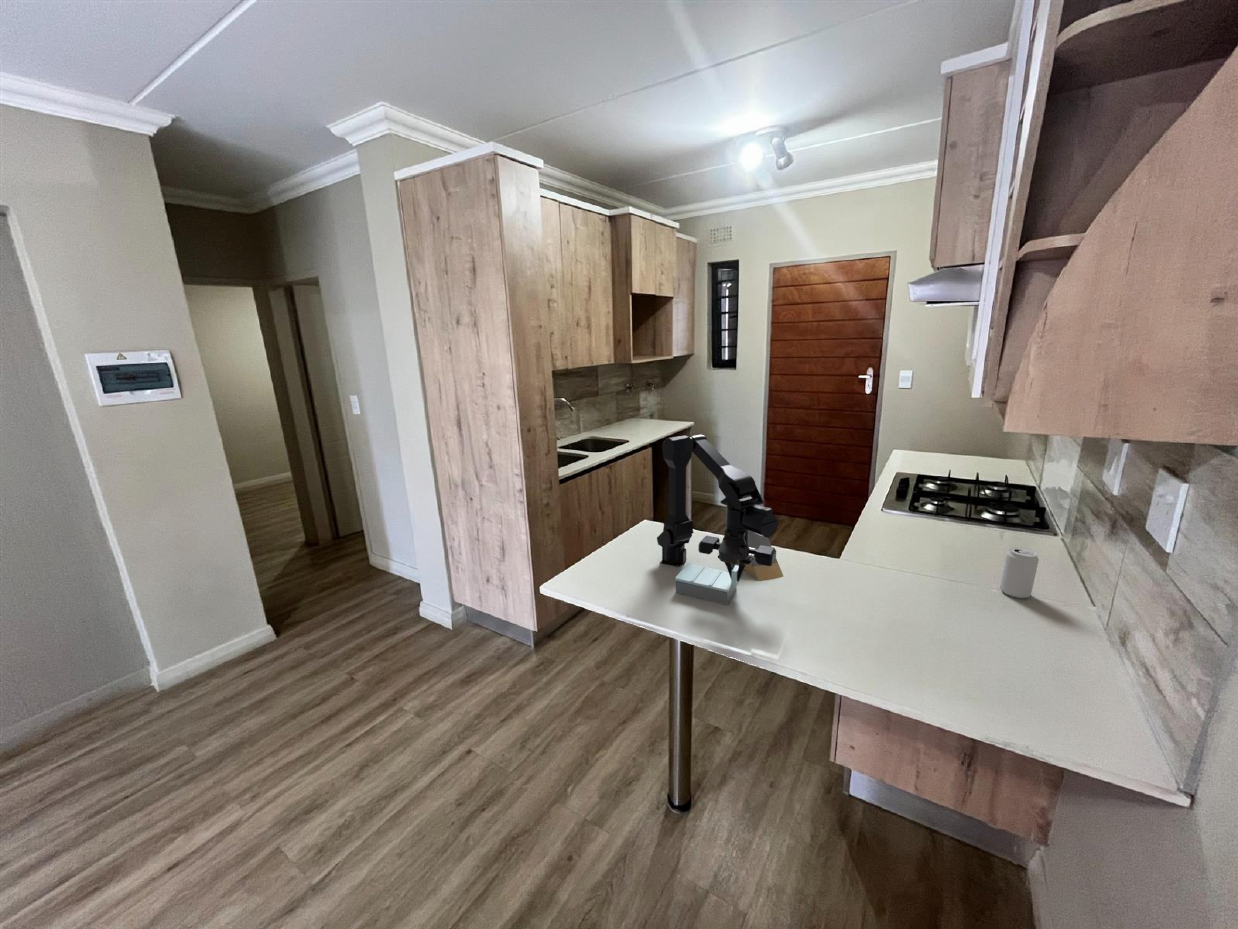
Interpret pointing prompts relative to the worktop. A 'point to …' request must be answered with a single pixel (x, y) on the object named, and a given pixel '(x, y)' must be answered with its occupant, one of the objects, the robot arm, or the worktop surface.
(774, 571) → the sandwich container
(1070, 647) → the worktop surface
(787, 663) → the worktop surface
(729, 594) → the tub
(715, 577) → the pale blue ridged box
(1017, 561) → the beverage can
